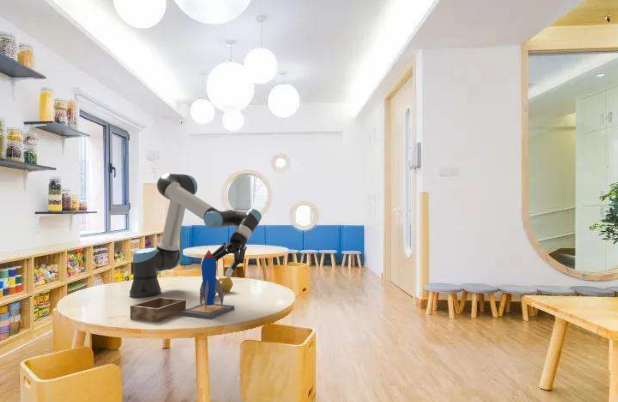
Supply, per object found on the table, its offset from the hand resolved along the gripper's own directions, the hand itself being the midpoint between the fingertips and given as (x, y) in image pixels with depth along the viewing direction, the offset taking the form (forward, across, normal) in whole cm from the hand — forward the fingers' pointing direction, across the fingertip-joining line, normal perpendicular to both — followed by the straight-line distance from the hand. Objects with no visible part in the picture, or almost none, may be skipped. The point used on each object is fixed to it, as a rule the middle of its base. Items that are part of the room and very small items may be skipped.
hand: (216, 273), depth 172 cm
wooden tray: (+24, +15, +2) cm, 29 cm away
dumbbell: (-2, +22, -25) cm, 33 cm away
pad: (+15, 0, -8) cm, 16 cm away
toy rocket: (+14, +1, -7) cm, 15 cm away
